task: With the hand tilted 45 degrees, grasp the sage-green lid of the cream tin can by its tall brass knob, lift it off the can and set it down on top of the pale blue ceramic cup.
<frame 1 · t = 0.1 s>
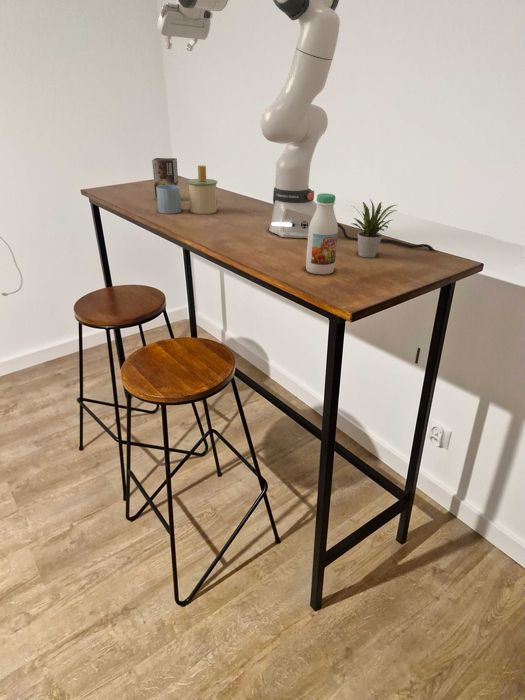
hand: (178, 49, 170), 54 cm above the table, tool tilted 30°, fingers open, 8 cm apart
house plant: (371, 256, 142), on the table
coffee box: (167, 199, 203), on the table
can: (203, 210, 186), on the table
lid: (202, 182, 181), point 10 cm above the table, touching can
cup: (169, 211, 184), on the table
milk bottle: (319, 271, 129), on the table
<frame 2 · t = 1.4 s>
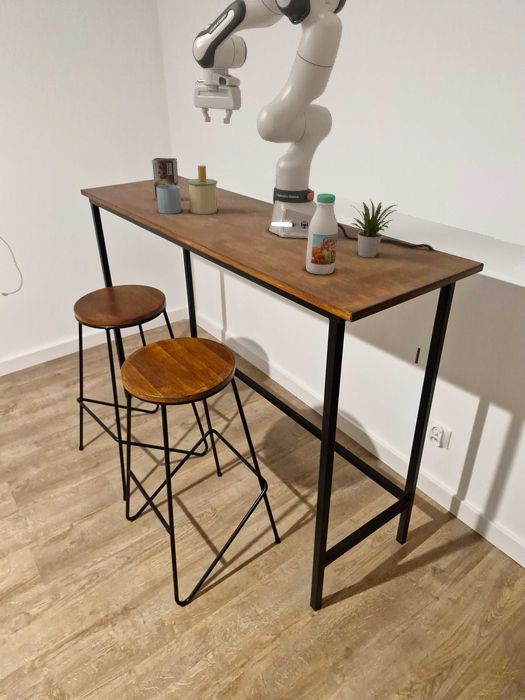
hand: (217, 122, 174), 31 cm above the table, tool pointing down, fingers open, 8 cm apart
nothing on the table moved.
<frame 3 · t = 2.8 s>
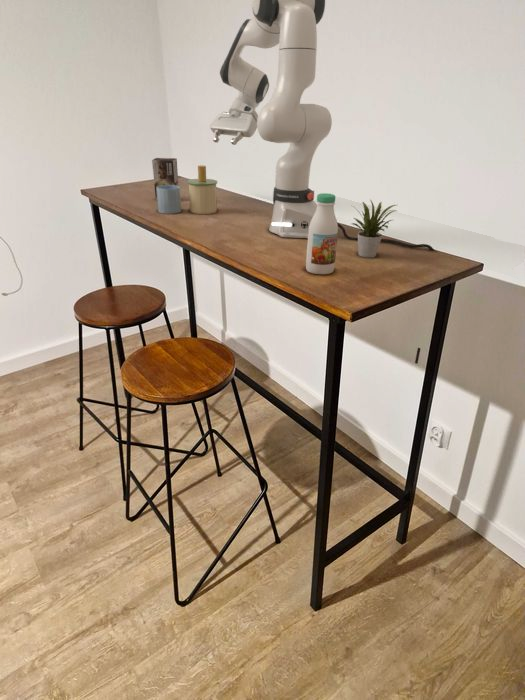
hand: (223, 142, 183), 24 cm above the table, tool tilted 45°, fingers open, 8 cm apart
nothing on the table moved.
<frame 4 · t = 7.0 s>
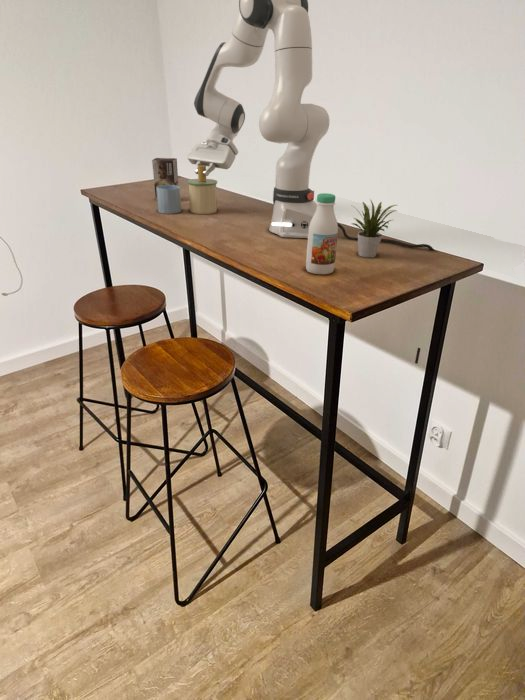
hand: (200, 174, 179), 14 cm above the table, tool tilted 45°, fingers closed on lid, 3 cm apart
lid: (202, 182, 181), point 11 cm above the table, touching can, gripper
everything else where it was.
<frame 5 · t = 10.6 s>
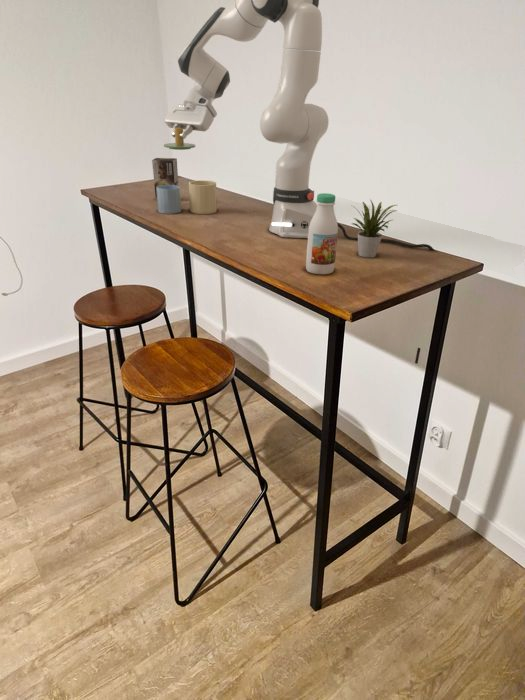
hand: (178, 136, 172), 27 cm above the table, tool tilted 45°, fingers closed on lid, 3 cm apart
lid: (179, 146, 174), point 23 cm above the table, touching gripper
everything else where it was.
when the fingers open (13 cm above the table, at t = 14.6 s): lid stays where it is, resting on cup.
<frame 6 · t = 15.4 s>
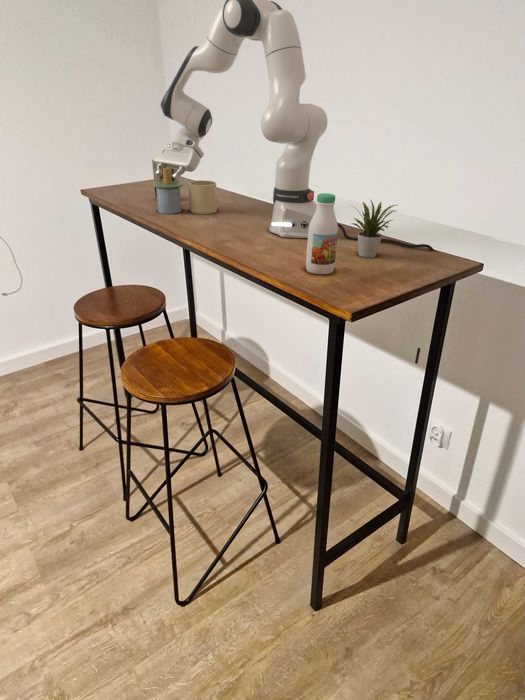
hand: (166, 176, 178), 13 cm above the table, tool tilted 45°, fingers open, 8 cm apart
lid: (167, 185, 180), point 10 cm above the table, touching cup
everything else where it was.
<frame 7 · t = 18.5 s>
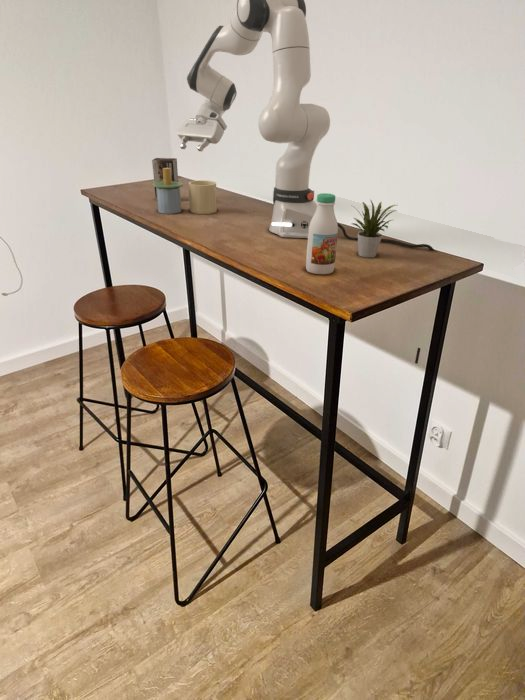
hand: (190, 149, 182), 21 cm above the table, tool tilted 45°, fingers open, 8 cm apart
nothing on the table moved.
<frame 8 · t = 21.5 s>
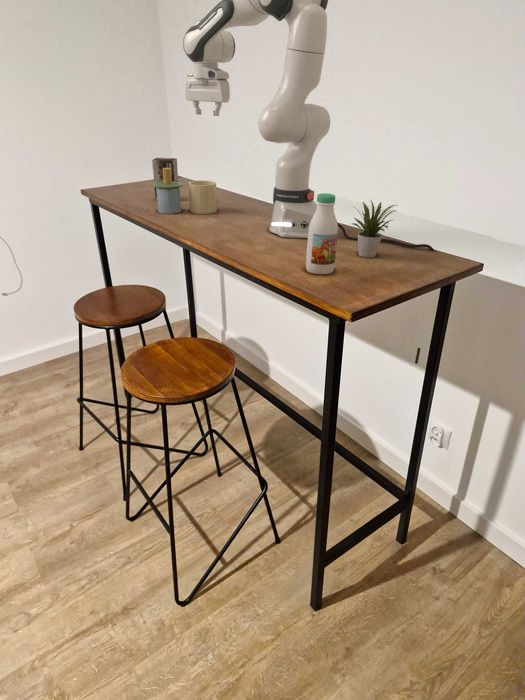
hand: (207, 115, 181), 33 cm above the table, tool pointing down, fingers open, 8 cm apart
nothing on the table moved.
at the end: lid 0.0 cm off-centre on the cup, point 9.6 cm above the cup's base; lid tilted 0°; the gripper is holding nothing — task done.
